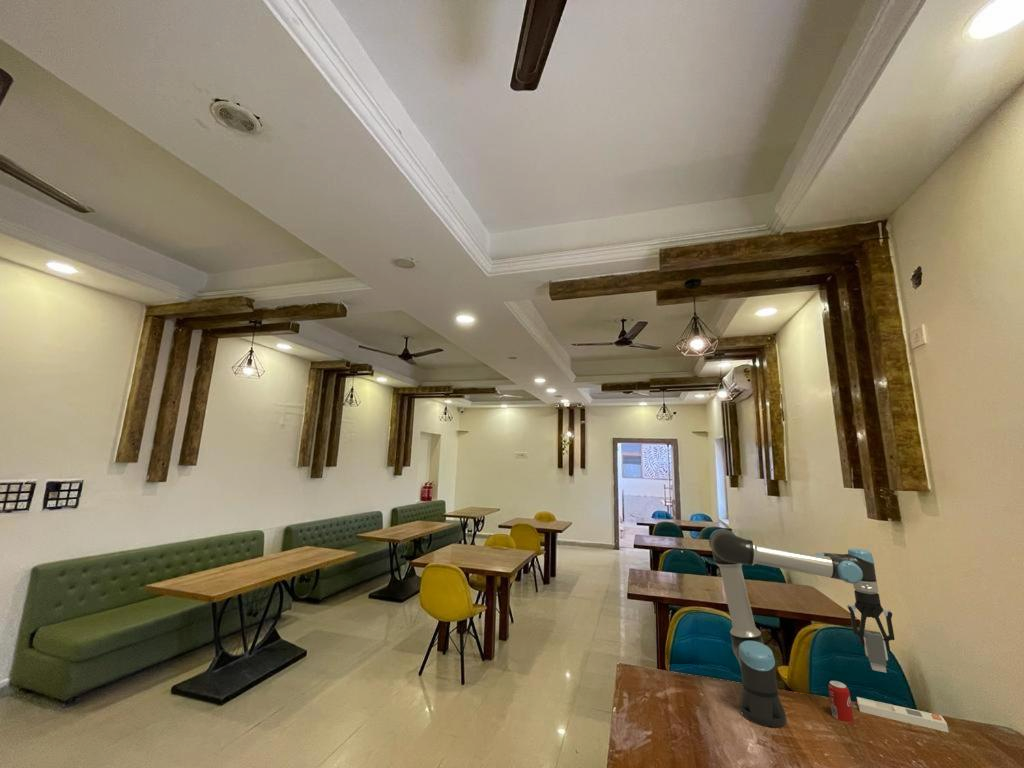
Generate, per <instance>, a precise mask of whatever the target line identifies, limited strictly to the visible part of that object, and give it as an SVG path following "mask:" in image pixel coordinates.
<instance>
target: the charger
mask: <svg viewBox="0 0 1024 768" xmlns="http://www.w3.org/2000/svg"><path fill="white" fill-rule="evenodd" d="M864 636H865V637H866V640H867V646H868V653H869V657H867V658H868V660H869V663H870V667H871V670H872V671H876V672H882V673H885V674H886V673H887V667H886V666H888V664H887V660H886V656H885V650H884V644H883V639H884V638H883V635H882V633H881V631H876V630H875V631H874V630H868V629H865V630H864ZM887 674H888V673H887Z"/></svg>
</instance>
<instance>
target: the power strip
mask: <svg viewBox="0 0 1024 768" xmlns="http://www.w3.org/2000/svg"><path fill="white" fill-rule="evenodd" d="M856 702H857V705H854V704H851V706H852V708H854V709H855V708H856V709H859V712H861V713H864V714H869V715H872V716H873V715H874V716H877V717H882V718H884V719H885V718H886V719H889V720H890V719H891V720H895V721H898V722H902V723H907V724H911V725H916V726H919V727H924V728H929V729H932V730H937V731H940V732H941V731H942V732H945V733H949V732H950V731H949V727H948V723H947V721H946V720H945V719H944V717H943V715H940V714H936V713H930V712H927V711H922V710H918V709H912V708H909V707H905V706H900V705H894V704H892V703H888V702H887V703H886V702H882V701H876V700H873V699H867V698H864V697H860V696H856Z"/></svg>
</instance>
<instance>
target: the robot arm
mask: <svg viewBox="0 0 1024 768" xmlns="http://www.w3.org/2000/svg"><path fill="white" fill-rule="evenodd" d="M708 543H709V547H710V549H711V552H712V556H713V562H714V564H715V565H716V566H717V567H719V571H720V575H721V581H722V583H723V584H722V585H723V589H724V594H725V598H726V602H727V607H728V611H729V616H730V620H731V625H732V627H731V629H730V630H729V633H730V638H731V648H732V652H733V654H734V656H735V657H736V660H737V662H738V664H739V666H740V672H741V682H742V691H741V696H740V699H739V711H740V710H741V712H742V713H743V715H744V716H746V717H747V718H748V719H749V721H750V720H751V721H750V722H752V721H753V722H752V723H754V722H755V724H757V723H758V724H757V725H760V726H763V725H765V726H764V727H768V726H772V727H771V728H780V727H784V726H786V724H787V721H788V720H787V713H786V711H785V709H784V706H783V704H782V702H781V699H780V697H779V690H778V681H777V674H776V672H777V671H776V660H775V659H776V658H775V657H774V653H773V650H772V649H771V648H770V647H769V646H768V645H766V644H764V639H763V637H762V632H761V630H759V628H757V627H756V624H755V623H756V622H755V619H754V615H753V611H752V606H751V602H750V598H749V594H748V590H747V585H746V581H745V577H744V573H743V568H742V566H743V565H745V566H754V565H760V566H761V565H762V566H767V567H771V568H778V569H783V570H788V571H793V572H799V573H803V574H809V575H814V576H819V577H820V576H821V577H826V578H830V579H835V580H839V581H840V580H841V581H843V582H845V583H849V584H852V585H853V589H854V591H853V593H854V598H855V602H854V604H853V605H849V604H848V605H846V606H847V610H848V611H849V614H850V616H849V617H850V621H851V627H852V632H853V634H854V635H856V636H858V637H859V643H860V645H861V646H863V647H864V653H865V656H866V658H868V657H869V653H868V646H867V640H866V637H865V634H864V630H866V629H865V628H866V622H867V618H872V619H875V621H876V624H877V626H878V629H879V632H880V633H881V635H882V638H883V644H884V650H885V656H886V661H889V655H888V651H891V650H890V649H891V646H890V641H895V633H894V626H893V622H892V617H893V613H892V611H891V610H889V609H885V608H883V607H882V604H881V597H880V594H879V593H878V592H879V587H878V581H877V576H876V567H875V561H874V556H873V553H872V552H871V551H869V550H868V549H863V548H849V549H848V550H847V553H831V552H830V553H829V552H815V553H809V552H804V551H797V550H793V549H787V548H782V547H775V546H771V545H770V546H769V545H764V544H758V543H755V541H754V540H752V539H751V540H750V539H745V538H743V537H739V536H738V535H736V534H735V533H734V532H733V531H731V530H729V529H726V528H720V529H719V528H718V529H716V530H714V531H712V533H711V534H710V536H709V538H708ZM856 610H857V611H858V612H859V613H860V621H859V628H857V621H856V615H855V614H856V613H855V612H856ZM882 613H883V614H884V616H885V619H886V620H885V621H886V626H887V631H888V633H886V630H885V629H884V626H883V623H882V621H881V619H880V616H881V615H882ZM887 634H888V635H887ZM741 712H740V713H741ZM743 715H742V716H743ZM744 716H743V717H744ZM746 717H745V718H746ZM747 718H746V719H747ZM748 719H747V720H748Z"/></svg>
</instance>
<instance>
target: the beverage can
mask: <svg viewBox="0 0 1024 768" xmlns="http://www.w3.org/2000/svg"><path fill="white" fill-rule="evenodd" d="M827 688H828V695H829V696H828V697H829V703H830V710H831V715H832V717H833V718H834V719H835V720H837V721H840V722H842V723H848V724H849V723H854V715H853V714H854V713H853V707H852V706H851V705H852V701H851V694H850V690H849V688H848V687H847V685H846V684H845V683H843V682H841V681H839V680H838V681H837V680H830V681H829V684H828V685H827Z"/></svg>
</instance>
